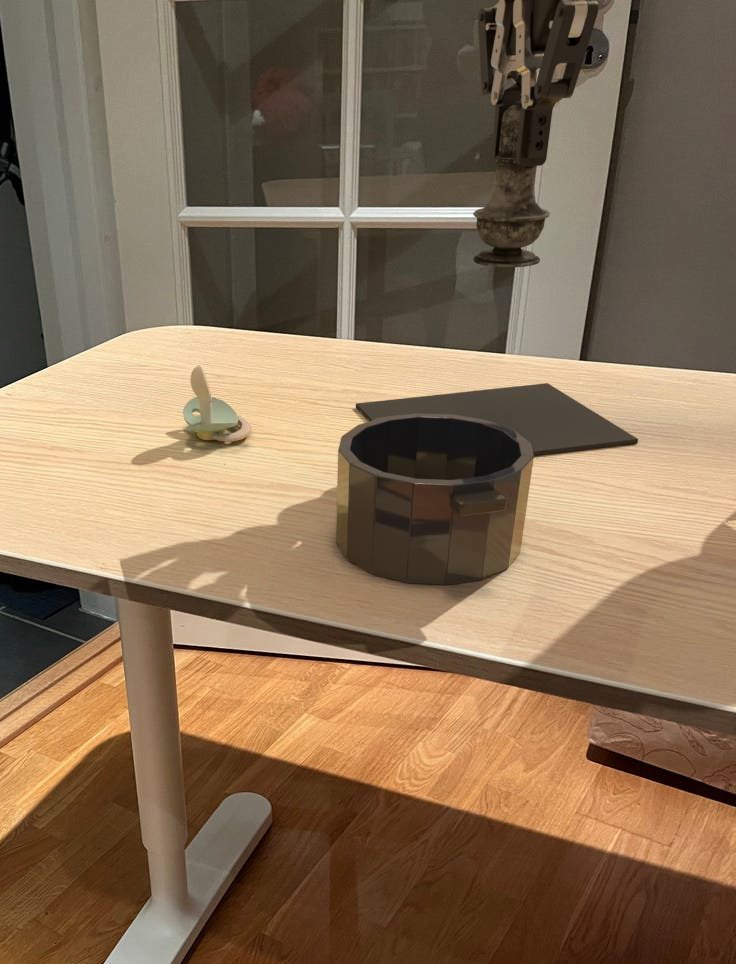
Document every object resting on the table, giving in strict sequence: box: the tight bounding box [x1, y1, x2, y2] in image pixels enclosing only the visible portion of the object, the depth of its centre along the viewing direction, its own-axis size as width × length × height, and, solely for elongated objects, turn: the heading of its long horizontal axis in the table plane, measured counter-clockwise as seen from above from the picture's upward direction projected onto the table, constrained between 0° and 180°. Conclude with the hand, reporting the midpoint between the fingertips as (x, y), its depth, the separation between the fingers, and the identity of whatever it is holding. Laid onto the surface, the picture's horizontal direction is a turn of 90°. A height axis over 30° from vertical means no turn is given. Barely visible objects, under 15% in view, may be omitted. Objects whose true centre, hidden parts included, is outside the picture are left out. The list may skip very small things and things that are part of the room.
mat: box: [355, 382, 639, 457], centre depth 85 cm, size 20×16×1 cm
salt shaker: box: [472, 93, 551, 269], centre depth 72 cm, size 6×6×12 cm
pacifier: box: [182, 364, 252, 443], centre depth 83 cm, size 7×6×6 cm
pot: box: [335, 413, 535, 586], centre depth 64 cm, size 13×16×7 cm
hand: (517, 161), depth 72 cm, fingers closed on salt shaker, 3 cm apart
